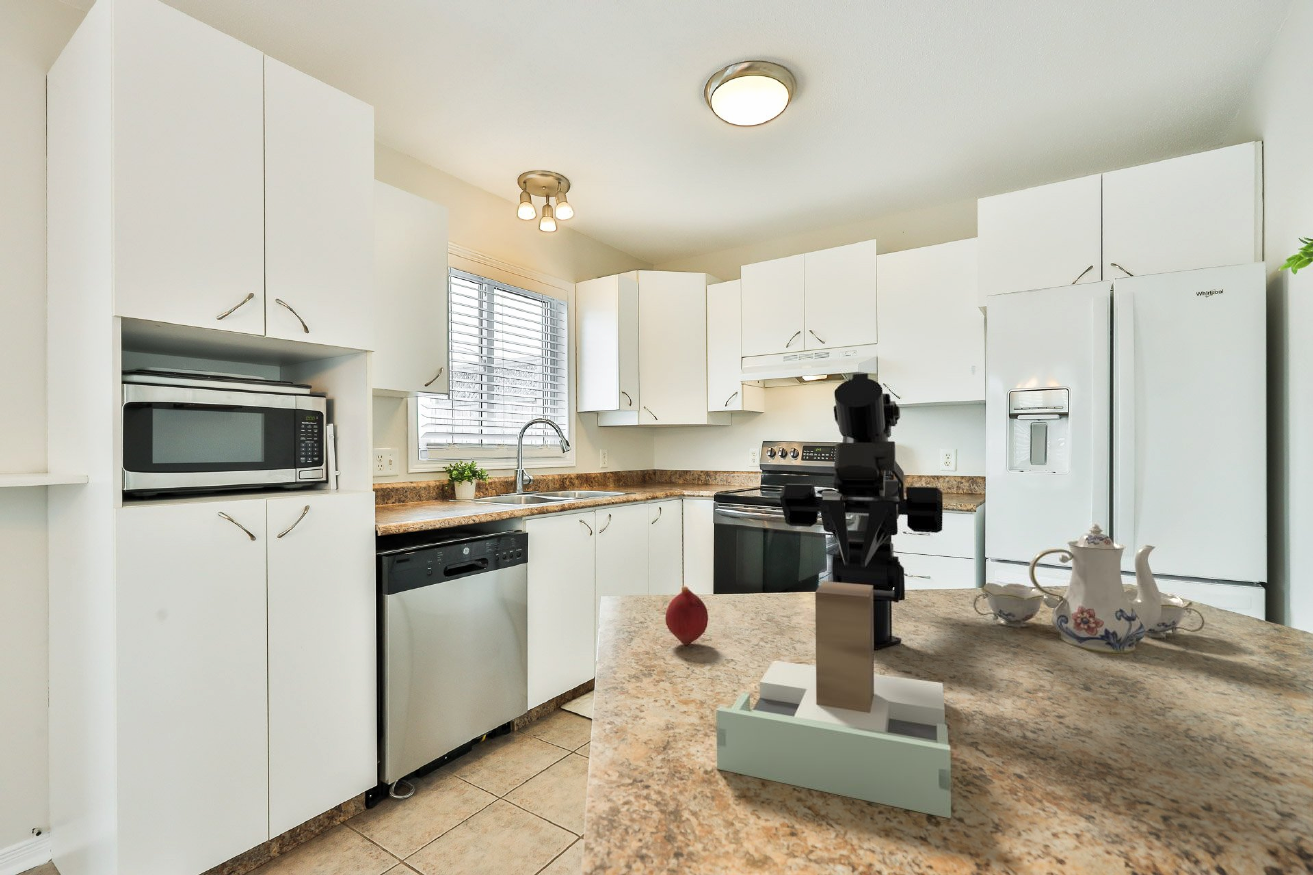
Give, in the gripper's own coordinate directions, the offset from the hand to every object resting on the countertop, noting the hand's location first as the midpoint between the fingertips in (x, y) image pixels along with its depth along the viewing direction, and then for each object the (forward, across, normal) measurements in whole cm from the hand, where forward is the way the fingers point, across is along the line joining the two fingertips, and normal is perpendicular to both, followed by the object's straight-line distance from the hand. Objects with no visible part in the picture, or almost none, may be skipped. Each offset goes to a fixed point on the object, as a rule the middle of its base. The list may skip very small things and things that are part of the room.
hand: (854, 563), depth 71 cm
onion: (+6, -23, +13) cm, 27 cm away
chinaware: (-11, +29, +31) cm, 44 cm away
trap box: (+20, 0, 0) cm, 20 cm away
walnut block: (+15, 0, +1) cm, 15 cm away
